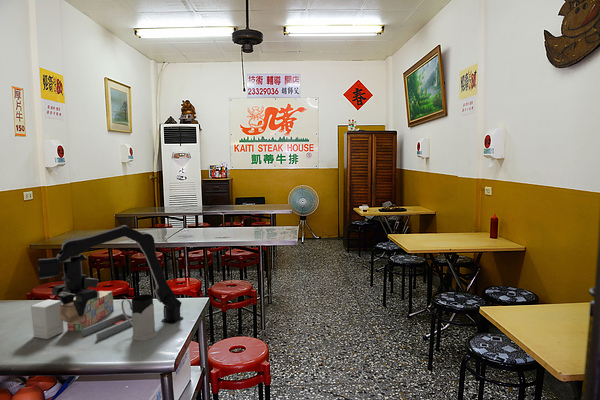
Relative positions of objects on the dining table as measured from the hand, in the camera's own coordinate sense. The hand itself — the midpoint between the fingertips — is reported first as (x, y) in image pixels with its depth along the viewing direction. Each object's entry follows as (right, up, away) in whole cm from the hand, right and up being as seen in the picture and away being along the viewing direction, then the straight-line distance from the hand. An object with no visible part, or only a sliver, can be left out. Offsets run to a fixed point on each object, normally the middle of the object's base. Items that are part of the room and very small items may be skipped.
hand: (76, 314), depth 138 cm
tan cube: (-1, -1, -1) cm, 2 cm away
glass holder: (+20, -10, +8) cm, 23 cm away
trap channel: (+6, -10, +13) cm, 17 cm away
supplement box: (-16, -11, +9) cm, 21 cm away
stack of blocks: (-6, -9, +22) cm, 25 cm away
